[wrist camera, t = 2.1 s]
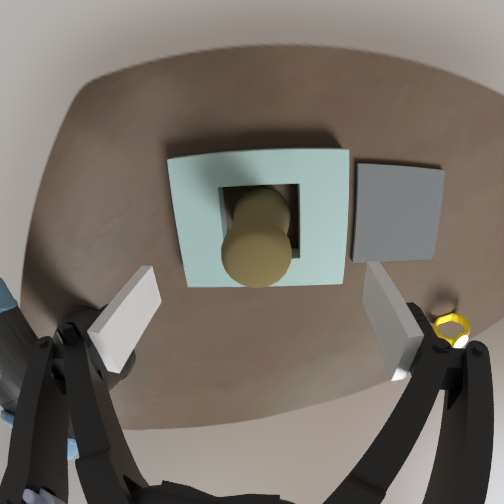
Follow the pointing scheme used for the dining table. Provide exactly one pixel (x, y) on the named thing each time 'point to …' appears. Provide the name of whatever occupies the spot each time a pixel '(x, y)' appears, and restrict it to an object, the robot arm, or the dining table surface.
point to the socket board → (263, 173)
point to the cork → (258, 239)
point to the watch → (460, 338)
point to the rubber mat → (396, 212)
